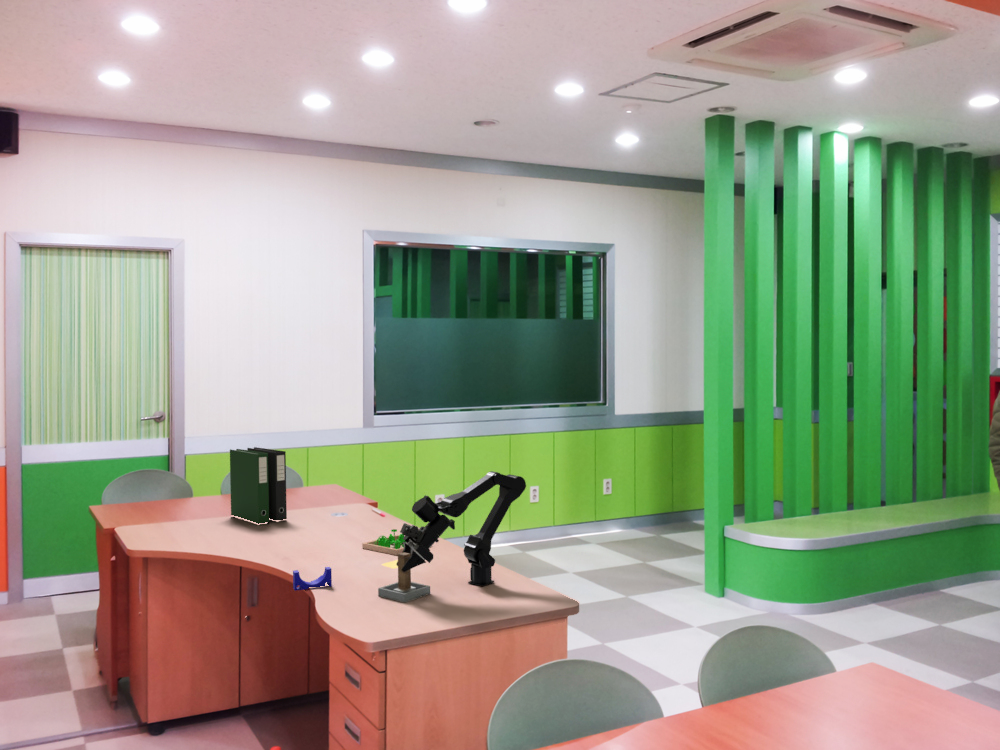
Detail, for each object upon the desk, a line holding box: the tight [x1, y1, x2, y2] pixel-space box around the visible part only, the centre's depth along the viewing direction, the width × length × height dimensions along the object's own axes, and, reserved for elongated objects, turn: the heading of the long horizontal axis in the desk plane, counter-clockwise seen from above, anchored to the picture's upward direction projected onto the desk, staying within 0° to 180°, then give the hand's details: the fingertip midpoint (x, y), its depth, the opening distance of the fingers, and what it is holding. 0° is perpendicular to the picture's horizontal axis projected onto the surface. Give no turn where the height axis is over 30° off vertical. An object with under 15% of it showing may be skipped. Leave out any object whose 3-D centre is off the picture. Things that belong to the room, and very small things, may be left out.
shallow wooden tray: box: [361, 534, 404, 556], centre depth 335 cm, size 19×19×2 cm
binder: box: [229, 446, 288, 524], centre depth 394 cm, size 27×15×32 cm, turn 45°
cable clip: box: [292, 566, 333, 592], centre depth 280 cm, size 12×4×6 cm, turn 113°
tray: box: [377, 581, 431, 603], centre depth 270 cm, size 12×12×2 cm
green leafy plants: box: [375, 528, 406, 549], centre depth 336 cm, size 15×15×7 cm
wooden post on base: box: [393, 552, 416, 593], centre depth 270 cm, size 6×4×12 cm, turn 140°
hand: (399, 568), depth 269 cm, fingers open, 7 cm apart
